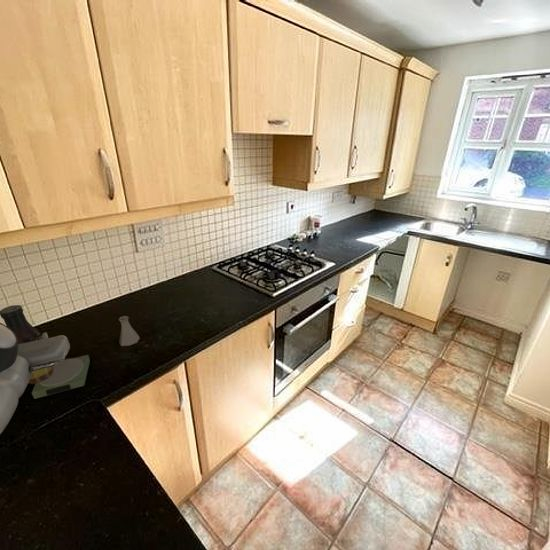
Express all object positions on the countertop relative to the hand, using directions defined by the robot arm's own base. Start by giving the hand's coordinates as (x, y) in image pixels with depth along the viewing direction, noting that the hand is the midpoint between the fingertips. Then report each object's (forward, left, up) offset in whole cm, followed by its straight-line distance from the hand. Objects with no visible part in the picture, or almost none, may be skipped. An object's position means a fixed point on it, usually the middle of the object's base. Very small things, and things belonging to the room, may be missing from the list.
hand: (25, 338), depth 73 cm
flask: (+17, +29, -26) cm, 42 cm away
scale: (-2, +16, -26) cm, 30 cm away
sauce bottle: (0, -1, -11) cm, 11 cm away
